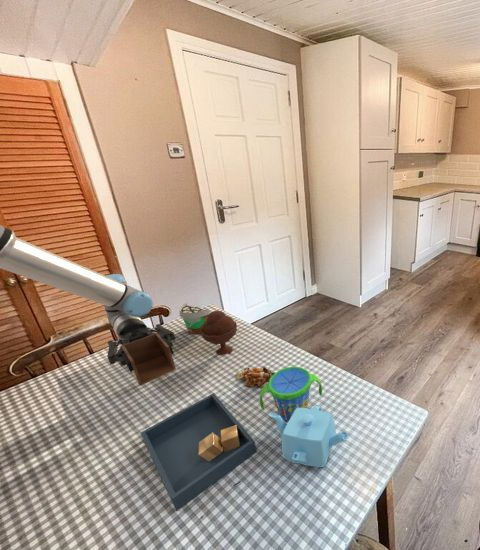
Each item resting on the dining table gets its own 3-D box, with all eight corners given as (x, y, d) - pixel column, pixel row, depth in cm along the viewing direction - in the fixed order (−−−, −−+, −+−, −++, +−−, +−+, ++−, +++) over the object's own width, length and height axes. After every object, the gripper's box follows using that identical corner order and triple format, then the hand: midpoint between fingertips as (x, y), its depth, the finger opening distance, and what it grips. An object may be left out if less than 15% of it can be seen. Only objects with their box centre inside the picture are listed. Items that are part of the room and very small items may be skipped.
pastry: (242, 368, 95) (240, 359, 94) (277, 373, 93) (276, 364, 92) (228, 384, 89) (226, 374, 88) (266, 390, 87) (264, 380, 85)
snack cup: (321, 391, 86) (319, 361, 82) (325, 420, 77) (323, 389, 73) (264, 400, 83) (259, 370, 79) (261, 432, 73) (255, 400, 70)
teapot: (355, 434, 73) (354, 402, 69) (337, 494, 60) (335, 459, 56) (286, 421, 76) (282, 390, 73) (256, 475, 64) (248, 441, 60)
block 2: (221, 441, 67) (220, 430, 70) (224, 452, 68) (223, 440, 71) (237, 435, 68) (236, 424, 71) (240, 446, 69) (238, 435, 72)
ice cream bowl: (199, 360, 99) (189, 320, 94) (220, 341, 109) (212, 304, 104) (229, 363, 98) (220, 323, 92) (247, 343, 108) (240, 306, 102)
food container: (176, 333, 114) (170, 310, 110) (191, 325, 119) (185, 302, 116) (200, 340, 110) (194, 316, 106) (214, 331, 115) (209, 308, 111)
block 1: (213, 444, 65) (198, 454, 64) (223, 451, 67) (208, 462, 66) (212, 432, 68) (198, 442, 67) (222, 439, 69) (208, 449, 69)
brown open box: (129, 368, 89) (121, 345, 86) (164, 354, 95) (157, 332, 92) (139, 386, 82) (130, 361, 79) (176, 369, 88) (169, 346, 85)
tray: (144, 443, 71) (140, 432, 70) (216, 403, 82) (213, 392, 81) (176, 511, 57) (171, 499, 56) (256, 452, 69) (254, 440, 67)
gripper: (171, 325, 107) (196, 351, 93) (91, 354, 92) (106, 390, 78) (165, 306, 104) (190, 330, 90) (82, 333, 89) (96, 366, 75)
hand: (151, 358), depth 84 cm, fingers closed on brown open box, 9 cm apart
